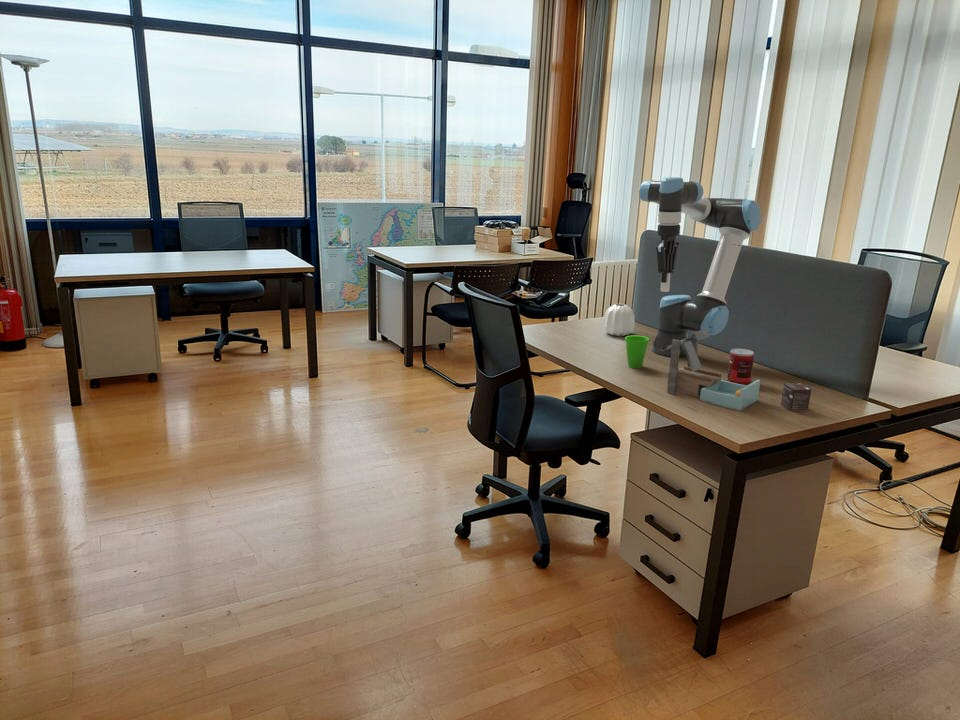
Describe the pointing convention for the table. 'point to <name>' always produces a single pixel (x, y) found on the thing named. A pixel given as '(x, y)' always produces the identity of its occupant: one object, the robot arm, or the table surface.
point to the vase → (619, 320)
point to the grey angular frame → (688, 374)
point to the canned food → (740, 366)
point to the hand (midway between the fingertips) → (664, 291)
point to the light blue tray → (731, 394)
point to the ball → (737, 393)
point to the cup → (636, 350)
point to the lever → (690, 348)
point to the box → (796, 397)
